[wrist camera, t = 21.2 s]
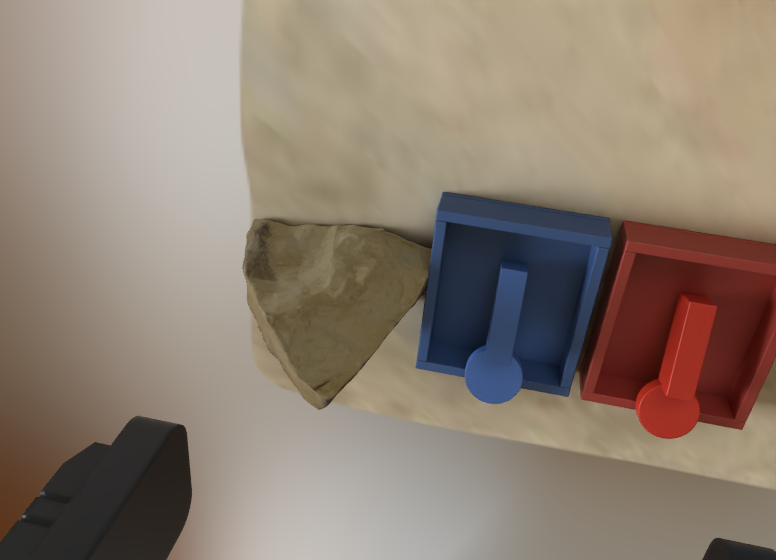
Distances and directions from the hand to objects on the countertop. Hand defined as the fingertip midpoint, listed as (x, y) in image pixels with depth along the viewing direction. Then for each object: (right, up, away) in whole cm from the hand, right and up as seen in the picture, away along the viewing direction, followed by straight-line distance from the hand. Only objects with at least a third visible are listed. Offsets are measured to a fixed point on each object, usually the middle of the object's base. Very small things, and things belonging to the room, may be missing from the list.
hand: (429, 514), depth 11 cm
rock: (-3, +5, +30) cm, 31 cm away
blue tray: (+6, +3, +29) cm, 30 cm away
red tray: (+15, +2, +28) cm, 32 cm away
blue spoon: (+6, +1, +29) cm, 30 cm away
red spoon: (+15, -1, +28) cm, 32 cm away
